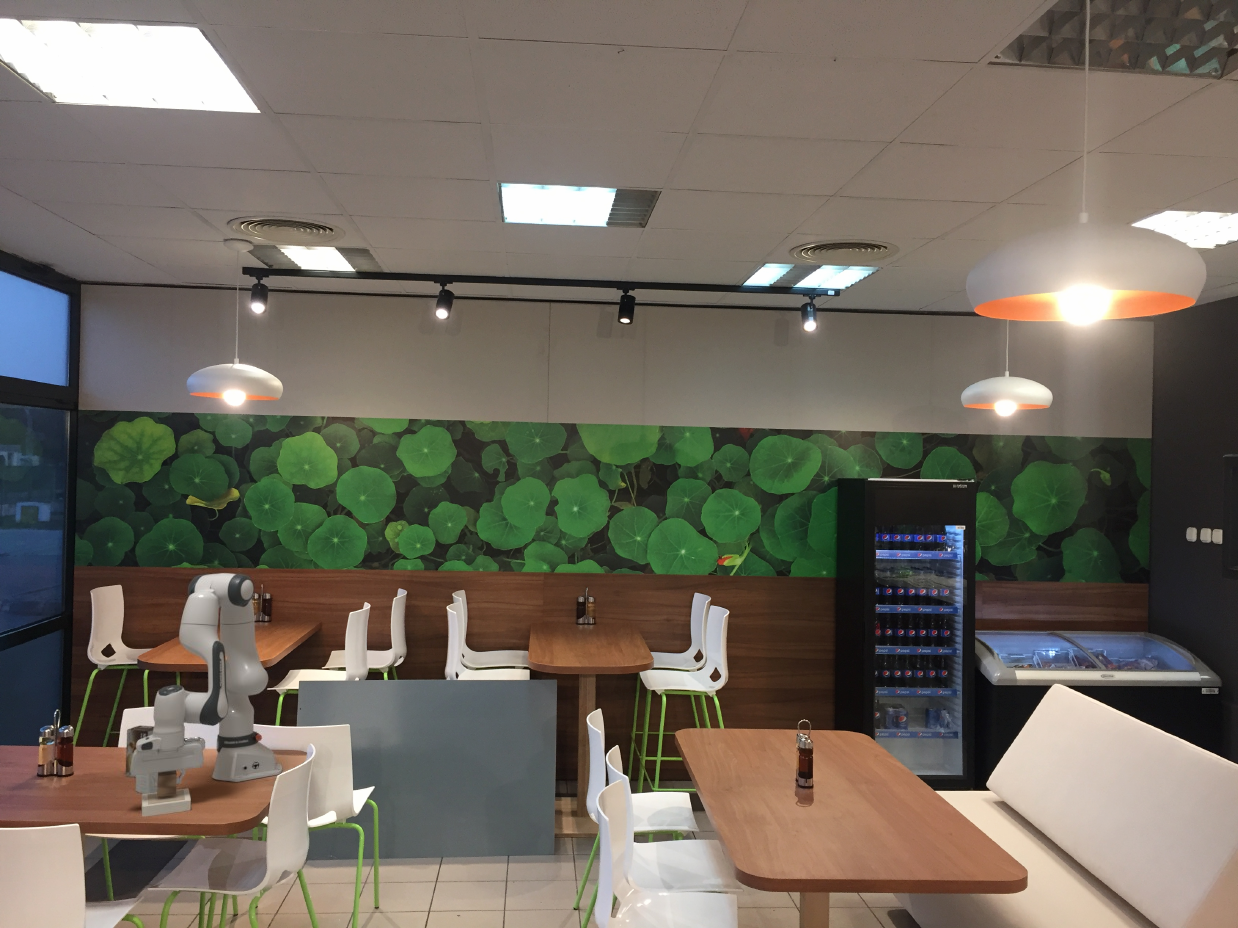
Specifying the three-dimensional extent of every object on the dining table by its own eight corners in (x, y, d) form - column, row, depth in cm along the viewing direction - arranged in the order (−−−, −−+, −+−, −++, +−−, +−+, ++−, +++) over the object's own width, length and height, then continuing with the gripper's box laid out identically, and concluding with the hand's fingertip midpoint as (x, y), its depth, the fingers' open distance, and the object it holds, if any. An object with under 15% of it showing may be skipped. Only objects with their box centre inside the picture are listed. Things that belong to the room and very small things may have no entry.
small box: (165, 791, 283) (166, 758, 284) (147, 796, 279) (149, 762, 279) (152, 786, 288) (153, 754, 288) (134, 791, 283) (136, 758, 284)
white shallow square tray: (188, 797, 277) (188, 787, 278) (190, 810, 266) (190, 799, 266) (141, 803, 271) (142, 793, 271) (141, 816, 260) (142, 805, 260)
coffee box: (160, 773, 302) (162, 726, 303) (146, 778, 296) (148, 730, 297) (138, 771, 305) (140, 724, 306) (124, 776, 298) (126, 729, 299)
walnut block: (175, 789, 272) (176, 769, 273) (176, 793, 268) (176, 774, 268) (157, 791, 270) (158, 772, 270) (157, 796, 265) (158, 776, 266)
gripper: (204, 733, 278) (203, 777, 277) (131, 741, 268) (129, 787, 267) (206, 738, 272) (204, 783, 271) (131, 746, 262) (129, 792, 261)
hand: (166, 785), depth 269 cm, fingers closed on walnut block, 5 cm apart
